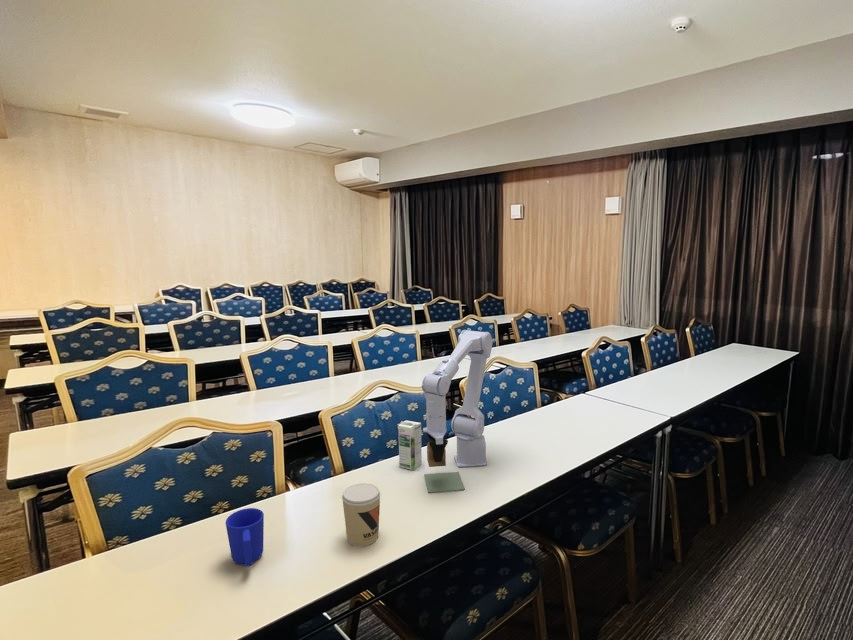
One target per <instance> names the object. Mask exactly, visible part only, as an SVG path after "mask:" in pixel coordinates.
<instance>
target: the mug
mask: <svg viewBox="0 0 853 640" xmlns="http://www.w3.org/2000/svg"><path fill="white" fill-rule="evenodd" d="M264 519H265V514H264V511H262V509H259V508H255V507H248V508H244V509H243V508H242V509H239V510H237V511H234V512H232V513H231V514H230V515H229V516H228V517H227V518H226V520H225V528H226V534H227V538H228V543H229V544H228V545H229V549H230V550H229V551H230V555H231V558H232V561H233V562H234V563H235V564H238V565H245V567H250V566H253V565H252V564H253V563H254V562H256V561H257V560H259V559H260V558H261V556H262V554H263V552H264V535H265V533H264V528H265V527H264V526H265V525H264V523H265V521H264Z"/></svg>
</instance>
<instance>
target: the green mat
mask: <svg viewBox="0 0 853 640" xmlns="http://www.w3.org/2000/svg"><path fill="white" fill-rule="evenodd" d="M423 476H424V481H425V485H426V489H427V494H436V493H447V492H448V493H449V492H450V493H451V492H463V491H464V490H465V491H466V487H465V485H464V483H463V479H462V477H461V474H460V472H459V471H452V472H451V471H450V472H448V471H447V472H439V473H438V472H435V473H424V474H423ZM465 491H464V492H465Z"/></svg>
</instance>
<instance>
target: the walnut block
mask: <svg viewBox="0 0 853 640" xmlns="http://www.w3.org/2000/svg"><path fill="white" fill-rule="evenodd" d="M446 452H447V451H446V449H445V450H444V454H443V459H442V462H435V461H434V457H433V451H432V448H431V446H430V444H429V443H427V444H426V457H427V458H426V460H427V464H428V467H429V468H434V467H435V468H436V467H446V465H447V464H446V463H447V460H446V459H447V457H446V455H447V454H446Z"/></svg>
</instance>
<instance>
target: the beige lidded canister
mask: <svg viewBox="0 0 853 640" xmlns="http://www.w3.org/2000/svg"><path fill="white" fill-rule="evenodd" d="M380 498H381V491H380V489H379V487H377V485H375V484H372V483H367V482H359V483H355V484H351V485H349V486H348V487H346V488H345V489H344V490H343V492H342V494H341V500H342V507H343V515H344V522H345V523H344V525H345V530H346V538H347V542H348V543H349V544H351V545H352V546H355V547H366V546H369V545H372V544H374V543H375V542H376V541H377V540H378V538H379V534H380V533H379V531H380V529H379V528H380V507H381V506H380V504H381V499H380Z"/></svg>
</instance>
